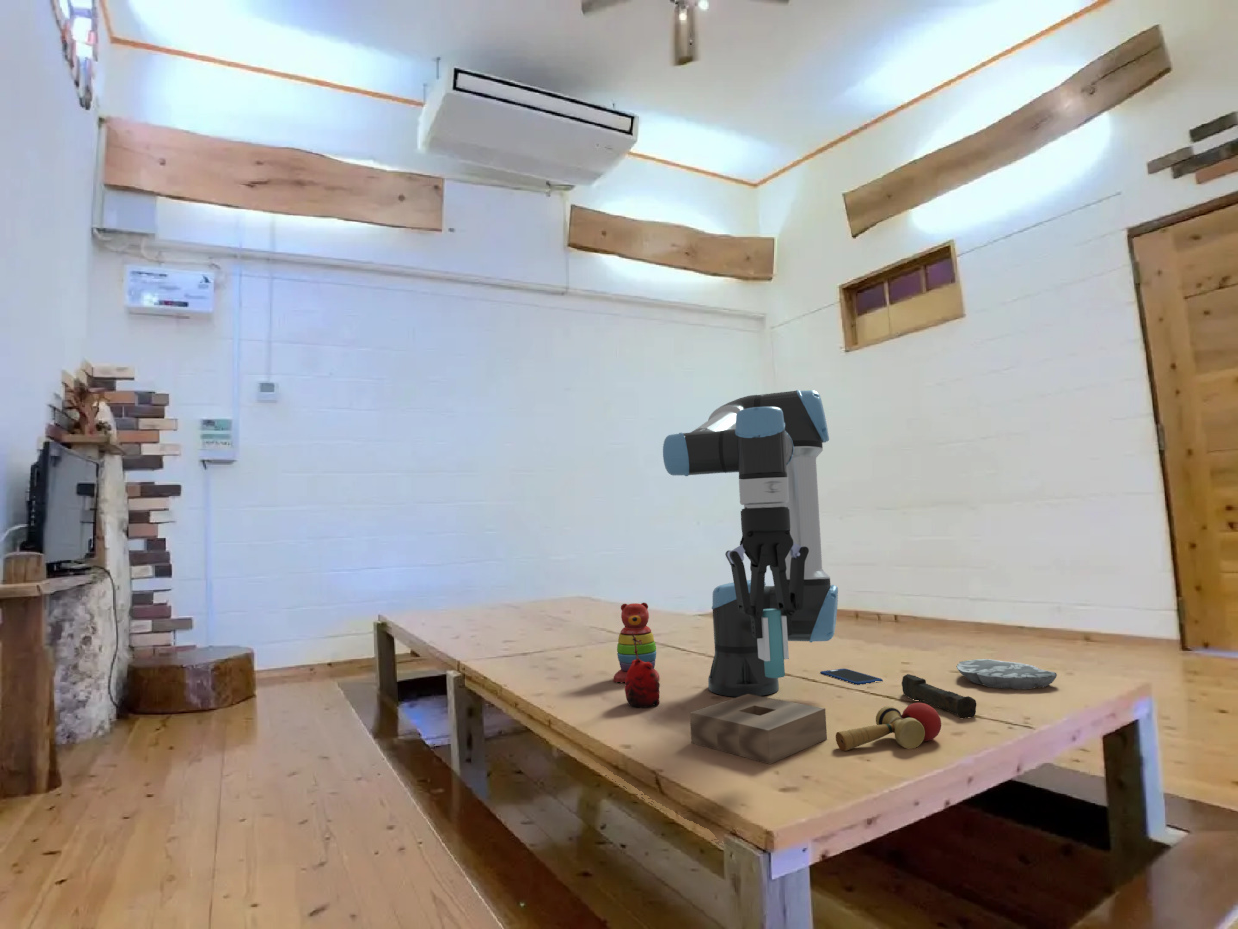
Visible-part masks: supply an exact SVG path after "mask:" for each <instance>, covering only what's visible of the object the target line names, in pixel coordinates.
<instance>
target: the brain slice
mask: <svg viewBox="0 0 1238 929" xmlns="http://www.w3.org/2000/svg"><path fill="white" fill-rule="evenodd" d="M956 670H957V671H958V672H959V673H960V674H961V676H964V677H965V678H966V679H967V680H969V681H970V682H971V683H973V684H977V685H984V686H985V687H988V688H996V689H1012V690H1031V689H1030V688H1033V689H1035V688H1034V687H1044V688H1046V687H1049V685H1051V684H1053V683H1054V682H1055V680H1056V678H1057V676H1058V674H1057V672H1055V671H1051V670H1046V669H1041V668H1039V667H1037V666H1034V665H1032V664H1026V663H1022V662H1014V661H1004V660H998V659H989V658H979V659H977V658H976V659H970V660H964V661H963V660H962V661H959V662H958V663H957V665H956Z"/></svg>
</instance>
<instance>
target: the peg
mask: <svg viewBox="0 0 1238 929" xmlns="http://www.w3.org/2000/svg"><path fill="white" fill-rule="evenodd" d="M762 617H766V618H768V630H769V647H770V661H764V666H765V676H766V677H769V678H778V679H781V678H785V677H786V674H785V671H786V670H785V659H784V657H783V642H782V627H781V610H780V609H763V616H762Z"/></svg>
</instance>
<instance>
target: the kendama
mask: <svg viewBox="0 0 1238 929" xmlns="http://www.w3.org/2000/svg"><path fill="white" fill-rule="evenodd" d="M875 724H876V725H875ZM875 724H874V725H867V726H863V727H858V728H853V729H848V730H843V731H838V732H836V733H835V742H836V744H837V746H838V749H840V750H841V751H842V752H847V751H850V750H852V749H854V748H857V747H860V746H863V745H865V744H867V743H871V742H872V743H873V741H877V740H878V739H879V740H880V739H881V738H883V737H886V736H887V735H890V734H894V739H895V741H896V742H897V744H898V745H899V746H901V747H902V748H904V749H906V748H911V749H916V747H917V748H918V747H920V745H921V744H922V743H923V742H928V741H933V740H934V739H936V737H937V736H939V734H940V732H941V729H942V719H941V717H940V715H939V713H938V711H937V710H936V709H935V708H934V707H932V706H931V705H929V704H928V703H925V702H913V703H911V704H909V705H908V706H907V707H905V709H904V710H903V711H902V713H901V711H900V709H897V708H896V707H894V706H891V705H886V706H883V707H881V708H880V709H879V710H878V712H877V713H876V716H875Z"/></svg>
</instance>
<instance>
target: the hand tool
mask: <svg viewBox="0 0 1238 929" xmlns="http://www.w3.org/2000/svg"><path fill="white" fill-rule="evenodd" d="M901 686H902V693H903V695H904V694H905V695H904V696H905V697H907V698H908V697H909V698H908V699H910V698H911V700H912V699H914V700H919V701H918V702H924V703H926V704H928V705H929V704H931V705H933V706H935V707H937V708H940V709H943V710H945V711H947V712H950V713H952V714H956V715H957V717H959V719H960V718H963V719H969V718H968V717H971V718H973V717H975V716H976V713H977V712H976V710H977V700H976V699H975V698H973V697H971V696H969V695H967V696H964V695H961V694H958V693H955V692H953V691H949V690H945V689H943V688H939V687H936V686H935V685H931V684H929V683H927V680H926V678H921V677H919V676H916V675H913V674H909V673H907V674H905V675H903V676H902V680H901ZM914 700H913V701H914Z"/></svg>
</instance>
